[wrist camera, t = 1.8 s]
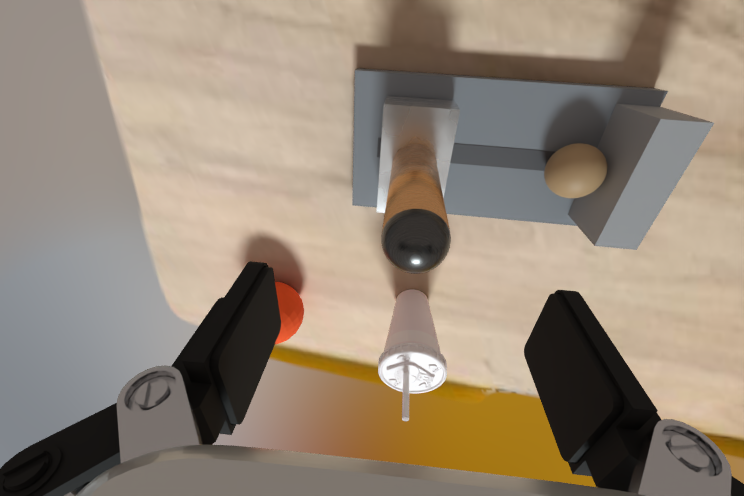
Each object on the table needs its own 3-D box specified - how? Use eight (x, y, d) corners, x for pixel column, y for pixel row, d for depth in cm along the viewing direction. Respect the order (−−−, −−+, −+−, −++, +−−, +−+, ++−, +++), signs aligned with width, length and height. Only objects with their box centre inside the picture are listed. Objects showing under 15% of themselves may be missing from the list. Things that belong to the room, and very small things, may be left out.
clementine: (269, 320, 42) (246, 367, 36) (236, 281, 39) (204, 326, 33) (321, 304, 40) (305, 351, 34) (289, 261, 36) (266, 305, 30)
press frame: (654, 88, 24) (725, 104, 18) (590, 219, 30) (629, 260, 25) (357, 68, 25) (342, 78, 20) (354, 198, 31) (343, 232, 26)
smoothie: (391, 274, 36) (381, 390, 24) (447, 286, 36) (464, 407, 24) (379, 314, 39) (366, 432, 28) (431, 325, 40) (439, 446, 28)
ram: (454, 100, 24) (500, 174, 11) (436, 199, 28) (456, 329, 16) (387, 95, 24) (360, 162, 12) (380, 194, 29) (356, 318, 16)
